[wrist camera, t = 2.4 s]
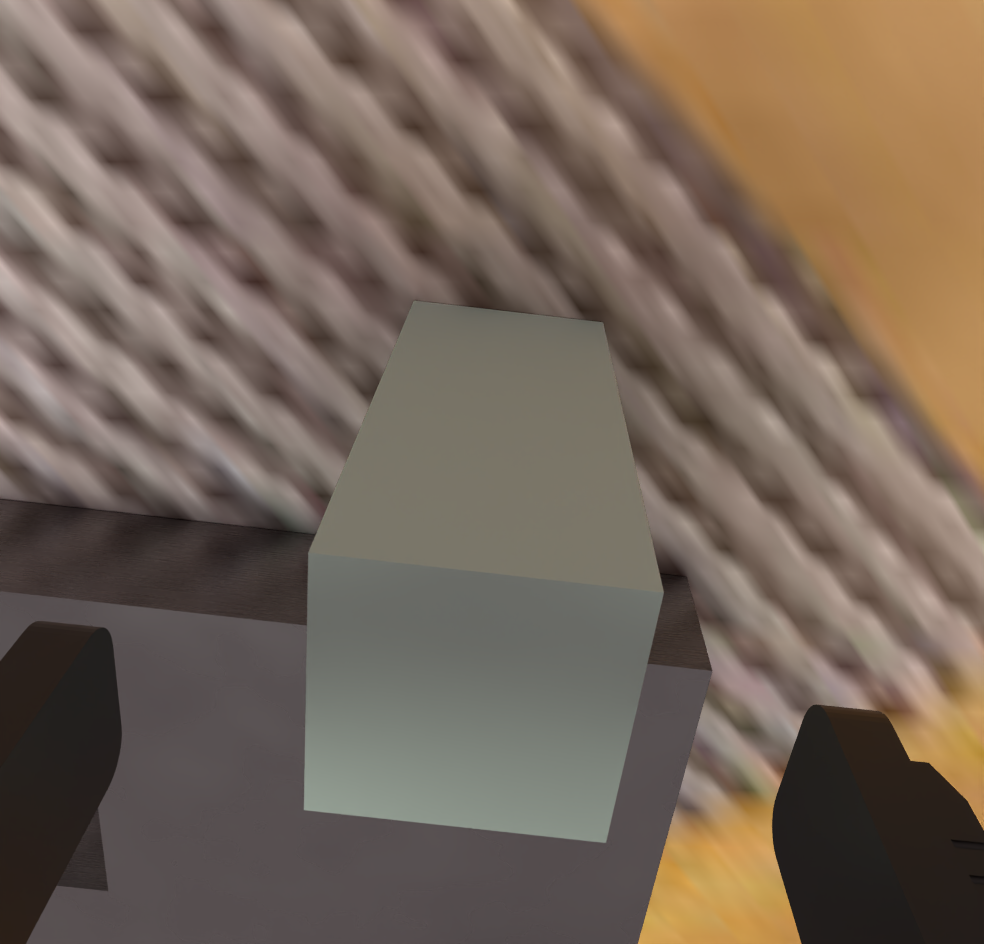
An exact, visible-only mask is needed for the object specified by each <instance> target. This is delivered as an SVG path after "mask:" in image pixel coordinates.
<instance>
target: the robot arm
mask: <svg viewBox="0 0 984 944" xmlns="http://www.w3.org/2000/svg"><path fill="white" fill-rule="evenodd" d="M121 741H122V725H121V715H120V706H119V697H118V687H117V678H116V668H115V659H114V649H113V642H112V637H111V634H110V632H109V631H108V630H107V629H106V628H104V627H95V626H85V625H76V624H66V623H57V622H47V621H36V622H33V623H32V624H31V625H29V626H28V627H27V628H26V629H25V631H24V632H23V633H22V634H21V636H20V637H19V638H18V639H17V641H16V642H15V643H14V644H13V646H12V647H11V648H10V649H9V651H8V652H7V653H6V654H5V656H4V657H3V658H2V659H1V661H0V944H26V943H27V941H28V939H29V937H30V935H31V933H32V931H33V929H34V928H35V926H36V924H37V922H38V920H39V918H40V916H41V914H42V912H43V911H44V909H45V907H46V905H47V903H48V901H49V899H50V897H51V895H52V894H53V892H54V890H55V888H56V886H57V884H58V882H59V880H60V878H61V877H62V875H63V873H64V871H65V869H66V867H67V865H68V863H69V861H70V860H71V858H72V856H73V854H74V852H75V850H76V848H77V846H78V844H79V843H80V841H81V839H82V837H83V835H84V833H85V831H86V829H87V827H88V826H89V824H90V822H91V820H92V818H93V816H94V814H95V812H96V810H97V809H98V807H99V805H100V803H101V801H102V799H103V797H104V795H105V793H106V792H107V790H108V788H109V786H110V784H111V781H112V779H113V776H114V773H115V770H116V767H117V763H118V759H119V755H120V749H121ZM772 833H773V844H774V850H775V855H776V859H777V862H778V866H779V869H780V872H781V876H782V879H783V882H784V886H785V889H786V893H787V896H788V899H789V903H790V906H791V909H792V913H793V916H794V919H795V923H796V926H797V930H798V933H799V936H800V940H801V943H802V944H984V830H983V828H982V827H981V825H980V823H979V821H978V819H977V818H976V816H975V814H974V812H973V810H972V809H971V807H970V805H969V803H968V801H967V800H966V799H965V798H964V797H963V796H962V795H961V794H960V793H959V792H958V791H957V790H956V789H955V788H954V787H953V786H952V785H951V784H950V783H949V782H948V781H947V780H946V779H945V778H944V777H943V776H942V775H941V774H940V773H939V772H937V771H936V770H935V769H934V768H933V767H932V766H931V765H930V764H929V763H925V762H915V761H910V759H909V757H908V755H907V753H906V751H905V749H904V747H903V745H902V743H901V741H900V740H899V738H898V736H897V734H896V732H895V730H894V728H893V726H892V724H891V722H890V721H889V719H888V718H887V717H886V715H885V714H883V713H882V712H879V711H872V710H863V709H853V708H844V707H834V706H825V705H813V706H811V707H810V708H809V709H808V711H807V712H806V714H805V716H804V719H803V721H802V724H801V727H800V730H799V733H798V736H797V739H796V741H795V744H794V747H793V750H792V753H791V756H790V759H789V761H788V764H787V767H786V770H785V773H784V776H783V779H782V782H781V784H780V787H779V790H778V793H777V796H776V799H775V804H774V809H773V820H772Z"/></svg>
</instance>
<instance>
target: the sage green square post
mask: <svg viewBox="0 0 984 944" xmlns="http://www.w3.org/2000/svg"><path fill="white" fill-rule="evenodd" d="M663 594H664V591H663V586H662V582H661V577H660V573H659V569H658V564H657V560H656V555H655V551H654V546H653V542H652V538H651V533H650V529H649V524H648V520H647V515H646V511H645V506H644V502H643V498H642V493H641V489H640V484H639V480H638V475H637V471H636V467H635V462H634V458H633V453H632V449H631V444H630V440H629V435H628V431H627V427H626V422H625V418H624V413H623V409H622V404H621V400H620V396H619V391H618V387H617V382H616V378H615V373H614V369H613V364H612V360H611V356H610V351H609V347H608V342H607V338H606V333H605V329H604V325H603V322H596V321H588V320H579V319H570V318H562V317H553V316H544V315H536V314H527V313H518V312H510V311H501V310H492V309H484V308H475V307H466V306H458V305H449V304H440V303H432V302H423V301H415V300H414V301H413V304H412V306H411V309H410V311H409V313H408V316H407V318H406V320H405V323H404V325H403V328H402V330H401V332H400V335H399V337H398V340H397V342H396V344H395V347H394V349H393V351H392V354H391V356H390V359H389V361H388V363H387V366H386V368H385V371H384V373H383V375H382V378H381V380H380V382H379V385H378V387H377V390H376V392H375V394H374V397H373V399H372V402H371V404H370V406H369V409H368V411H367V414H366V416H365V418H364V421H363V423H362V425H361V428H360V430H359V433H358V435H357V437H356V440H355V442H354V445H353V447H352V449H351V452H350V454H349V456H348V459H347V461H346V464H345V466H344V468H343V471H342V473H341V476H340V478H339V480H338V483H337V485H336V488H335V490H334V492H333V495H332V497H331V499H330V502H329V504H328V507H327V509H326V511H325V514H324V516H323V519H322V521H321V523H320V526H319V528H318V530H317V533H316V535H315V538H314V540H313V542H312V545H311V547H310V550H309V552H308V595H307V654H306V714H305V774H304V810H308V811H317V812H326V813H335V814H345V815H354V816H363V817H372V818H381V819H390V820H400V821H409V822H418V823H427V824H436V825H445V826H455V827H464V828H473V829H482V830H491V831H500V832H510V833H519V834H528V835H537V836H546V837H555V838H565V839H574V840H583V841H592V842H601V843H606V840H607V836H608V832H609V827H610V823H611V819H612V814H613V810H614V806H615V802H616V797H617V793H618V789H619V784H620V780H621V776H622V771H623V767H624V763H625V758H626V754H627V750H628V745H629V741H630V737H631V732H632V728H633V724H634V720H635V715H636V711H637V707H638V702H639V698H640V694H641V689H642V685H643V681H644V676H645V672H646V668H647V663H648V659H649V655H650V650H651V646H652V642H653V638H654V633H655V629H656V625H657V620H658V616H659V612H660V607H661V603H662V599H663Z"/></svg>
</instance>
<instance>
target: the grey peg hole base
mask: <svg viewBox="0 0 984 944" xmlns="http://www.w3.org/2000/svg"><path fill="white" fill-rule="evenodd" d="M314 538H315V535H311V534H302V533H293V532H284V531H275V530H267V529H258V528H249V527H240V526H231V525H222V524H214V523H205V522H196V521H187V520H178V519H169V518H161V517H152V516H143V515H134V514H125V513H116V512H107V511H99V510H90V509H81V508H72V507H63V506H54V505H46V504H37V503H28V502H19V501H10V500H1V499H0V661H1V659H2V658H3V657H4V656H5V654H6V653H7V652H8V651H9V649H10V648H11V647H12V646H13V644H14V643H15V642H16V641H17V639H18V638H19V637H20V636H21V634H22V633H23V632H24V631H25V629H26V628H27V627H28V626H29V625H31V624H32V623H33V622H36V621H47V622H57V623H66V624H76V625H85V626H95V627H104V628H106V629H107V630H108V631H109V632H110V634H111V637H112V642H113V649H114V659H115V668H116V678H117V687H118V697H119V706H120V715H121V725H122V741H121V749H120V755H119V759H118V763H117V767H116V770H115V773H114V776H113V779H112V781H111V784H110V786H109V788H108V790H107V792H106V793H105V795H104V797H103V799H102V801H101V803H100V805H99V807H98V809H97V810H96V812H95V814H94V816H93V818H92V820H91V822H90V824H89V826H88V827H87V829H86V831H85V833H84V835H83V837H82V839H81V841H80V843H79V844H78V846H77V848H76V850H75V852H74V854H73V856H72V858H71V860H70V861H69V863H68V865H67V867H66V869H65V871H64V873H63V875H62V877H61V878H60V880H59V882H58V884H57V886H56V888H55V890H54V892H53V894H52V895H51V897H50V899H49V901H48V903H47V905H46V907H45V909H44V911H43V912H42V914H41V916H40V918H39V920H38V922H37V924H36V926H35V928H34V929H33V931H32V933H31V935H30V937H29V939H28V941H27V943H26V944H638V941H639V937H640V933H641V930H642V926H643V922H644V919H645V915H646V911H647V908H648V904H649V901H650V897H651V893H652V890H653V886H654V882H655V879H656V875H657V871H658V868H659V864H660V860H661V857H662V853H663V849H664V846H665V842H666V838H667V835H668V831H669V827H670V824H671V820H672V816H673V813H674V809H675V805H676V802H677V798H678V794H679V791H680V787H681V783H682V780H683V776H684V773H685V769H686V765H687V762H688V758H689V754H690V751H691V747H692V743H693V740H694V736H695V732H696V729H697V725H698V721H699V718H700V714H701V710H702V707H703V703H704V699H705V696H706V692H707V688H708V685H709V681H710V677H711V674H712V668H711V664H710V661H709V657H708V653H707V650H706V646H705V642H704V639H703V635H702V631H701V628H700V624H699V620H698V617H697V613H696V609H695V605H694V602H693V598H692V594H691V591H690V587H689V583H688V580H687V577H682V576H673V575H665V574H660V577H661V582H662V586H663V591H664V594H663V599H662V603H661V607H660V612H659V616H658V620H657V625H656V629H655V633H654V638H653V642H652V646H651V650H650V655H649V659H648V663H647V668H646V672H645V676H644V681H643V685H642V689H641V694H640V698H639V702H638V707H637V711H636V715H635V720H634V724H633V728H632V732H631V737H630V741H629V745H628V750H627V754H626V758H625V763H624V767H623V771H622V776H621V780H620V784H619V789H618V793H617V797H616V802H615V806H614V810H613V814H612V819H611V823H610V827H609V832H608V836H607V840H606V843H601V842H592V841H583V840H574V839H565V838H555V837H546V836H537V835H528V834H519V833H510V832H500V831H491V830H482V829H473V828H464V827H455V826H445V825H436V824H427V823H418V822H409V821H400V820H390V819H381V818H372V817H363V816H354V815H345V814H335V813H326V812H317V811H308V810H304V774H305V714H306V654H307V595H308V552H309V550H310V547H311V545H312V542H313V540H314Z"/></svg>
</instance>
